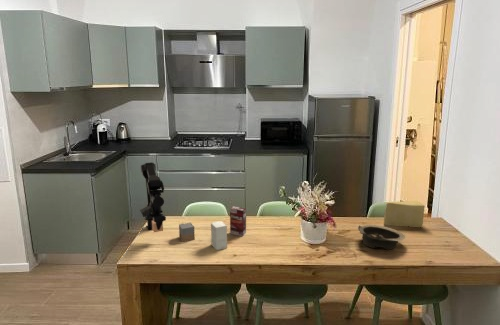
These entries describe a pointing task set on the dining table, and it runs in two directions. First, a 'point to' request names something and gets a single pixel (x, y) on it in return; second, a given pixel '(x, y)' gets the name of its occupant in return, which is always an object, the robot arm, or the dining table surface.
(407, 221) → the cheese
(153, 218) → the robot arm
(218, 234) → the small box
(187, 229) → the tower top
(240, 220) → the supplement box
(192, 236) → the tower base
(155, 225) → the terracotta cube
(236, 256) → the dining table surface
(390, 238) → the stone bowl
